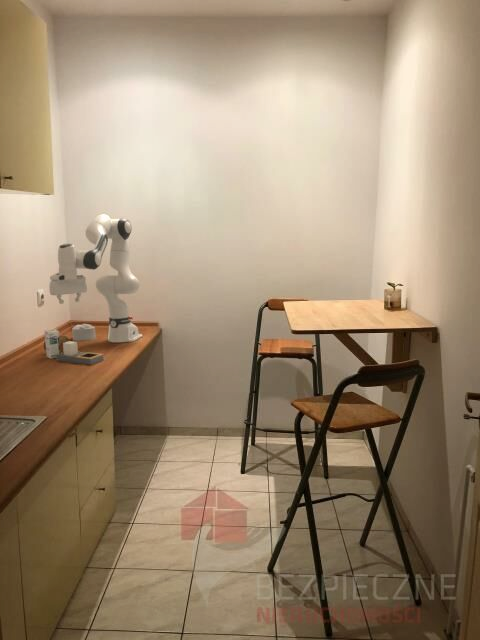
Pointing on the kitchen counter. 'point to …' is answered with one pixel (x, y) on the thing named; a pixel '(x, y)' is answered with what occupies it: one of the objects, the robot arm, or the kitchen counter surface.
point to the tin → (62, 340)
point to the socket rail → (81, 358)
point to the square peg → (70, 348)
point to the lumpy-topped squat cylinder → (83, 332)
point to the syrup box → (52, 343)
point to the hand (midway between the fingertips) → (69, 302)
